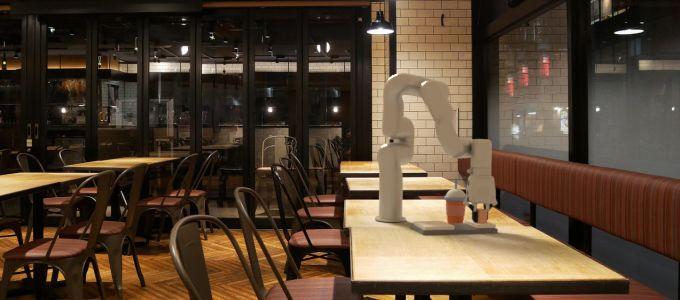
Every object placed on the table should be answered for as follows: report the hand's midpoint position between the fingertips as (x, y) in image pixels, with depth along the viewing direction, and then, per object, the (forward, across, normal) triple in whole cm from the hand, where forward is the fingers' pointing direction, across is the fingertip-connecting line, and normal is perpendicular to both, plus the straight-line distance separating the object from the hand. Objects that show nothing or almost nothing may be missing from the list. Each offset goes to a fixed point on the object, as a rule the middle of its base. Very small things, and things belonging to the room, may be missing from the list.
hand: (479, 221), depth 224 cm
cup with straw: (+3, -2, +18) cm, 18 cm away
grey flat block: (+3, -10, 0) cm, 11 cm away
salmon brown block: (+2, 0, 0) cm, 2 cm away
